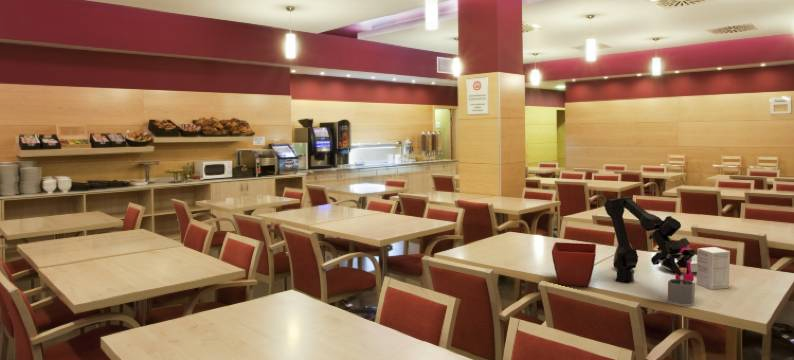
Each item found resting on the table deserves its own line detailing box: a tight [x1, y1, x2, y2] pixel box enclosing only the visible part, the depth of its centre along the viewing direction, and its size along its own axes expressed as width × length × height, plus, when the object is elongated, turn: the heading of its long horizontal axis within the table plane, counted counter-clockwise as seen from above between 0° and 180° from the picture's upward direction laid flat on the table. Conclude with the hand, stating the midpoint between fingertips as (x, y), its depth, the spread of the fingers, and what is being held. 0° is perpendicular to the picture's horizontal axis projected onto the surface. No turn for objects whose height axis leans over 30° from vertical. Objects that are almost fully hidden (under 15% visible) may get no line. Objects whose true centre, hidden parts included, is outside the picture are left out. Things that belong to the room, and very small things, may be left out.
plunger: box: [674, 266, 689, 285], centre depth 218 cm, size 7×7×8 cm
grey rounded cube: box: [667, 278, 696, 307], centre depth 219 cm, size 10×10×8 cm
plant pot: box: [551, 241, 597, 287], centre depth 249 cm, size 19×19×17 cm
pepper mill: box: [674, 244, 695, 282], centre depth 237 cm, size 7×7×20 cm
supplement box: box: [696, 246, 731, 290], centre depth 238 cm, size 10×9×17 cm
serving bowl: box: [659, 254, 697, 273], centre depth 264 cm, size 21×21×7 cm
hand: (684, 274), depth 217 cm, fingers closed on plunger, 4 cm apart
